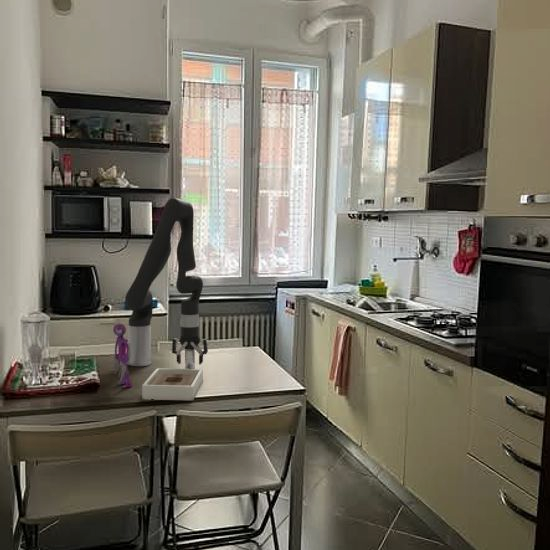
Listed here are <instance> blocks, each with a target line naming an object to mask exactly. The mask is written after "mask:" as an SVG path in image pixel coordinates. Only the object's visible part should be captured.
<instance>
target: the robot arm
mask: <svg viewBox="0 0 550 550" xmlns="http://www.w3.org/2000/svg"><path fill="white" fill-rule="evenodd" d="M194 215H195V214H194V207H193V205H192V203H191V202H189V201H188V200H185V199H181V198H177V197H171V198H169V199H168V200H167V201H166V203H165V204H164V207H163V209H162V212H161V215H160V218H159V222H158V224H157V227H156V229H155V233H154V235H153V237H152V240H151V241H150V245H149V246H148V248H147V250H146V253H145V255H144V258H143V261H142V262H141V265H140V267H139V269H138V272H137V274H136V277H135V278H134V280H133V282H132V283H131V285H130V287H129V289H128V291H127V292H126V294H125V296H124V297H125V299H124V301H125V303H124V304H125V306H126V307H127V308H128V309H129V310H131V311H132V313H131V315H130V317H129V318H128V342H127V343H128V346H129V352H128V357H129V361H128V362H127V366H132V367H145V366H149V365H151V364H152V342H151V341H152V337H151V336H152V334H151V333H152V332H151V329H152V326H151V324H152V322H151V321H152V319H153V307H154V306H153V305H154V303H153V294H152V291H150V288H151V286H152V284H153V283H154V281H155V280H156V278H158V276H159V275H160V274H161V272H162V271H163V270H164V268H165V267H166V264H167V262H168V260H169V258H170V256H171V252H172V241H171V234H172V231H173V228H174V225H175V223H176V222H178V223H179V226H180V237H179V241H178V243H177V246H176V257H177V265H178V268H177V270H178V271H177V278H176V284H175V285H176V289H177V292H178V293H180V294H181V295H182V294H183V295H185V294H191V295H190V296H189V297H188V298H185V299H182V300H181V302H180V321H179V322H180V324H179V325H180V338H176V337H174V338H173V339H172V346H171V353H172V354H175V355H176V363H177V364H178V365H181V364H182V363H181V362H182V354H181V353H182V351H183V350H185V349H186V350H188V349H191V350H193V349H195V352H197V353H198V365H202V363H203V362H204V355H207V354H208V352H209V349H208V339H207V338H204V339H203V338H202V339H201V338H200V316H199V313H200V312H199V305H200V299H201V294H202V292H203V288H204V282H203V279H202V277H201V276H200V275H186V274H187V272H190V271H194V270H195V269H196V258H195V252H194V251H195V247H194V221H195V220H194ZM179 343H180V345H181V347H180V348H179V349H178V350H177V345H178V344H179ZM200 343H201V345H203V350H202V348H201V347H200V345H199V344H200Z"/></svg>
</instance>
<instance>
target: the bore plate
mask: <svg viewBox="0 0 550 550" xmlns="http://www.w3.org/2000/svg"><path fill="white" fill-rule="evenodd" d="M195 378H196V375H186V374H159V375H158V377H157V378H156V379H155V380H154V381H153V383H152V384H151V385H180V386H191V384H192V383H193V381H194V379H195Z"/></svg>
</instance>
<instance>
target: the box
mask: <svg viewBox="0 0 550 550" xmlns="http://www.w3.org/2000/svg"><path fill="white" fill-rule="evenodd" d="M159 374H186V375H196V378H195V379H194V381H193V383H192V384H191V386H180V385H151V384H152V383H153V381H154V380H155V379H156V378H157V377H158V375H159ZM203 382H204V369H201V368H200V369H199V368H197V369H196V368H195V369H185V368H160V367H159V368H156V369H155V370H154V371H153V372H152V373H151V374H150V376H149V377H148V378H147V379H146V380H145V381H144V383H143V384H142V386H141V388H142V389H141V390H142V391H141V392H142V393H141V394H142V395H141V398H142V400H151V399H154V400H153V401H155V400H157V401H158V400H159V401H161V400H162V401H194V399H195V397H196V395H197V394H198V391H199V390H200V388H201V386H202V384H203Z"/></svg>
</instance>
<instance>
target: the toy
mask: <svg viewBox="0 0 550 550" xmlns="http://www.w3.org/2000/svg"><path fill="white" fill-rule="evenodd" d="M112 332H113V333H114V335H115V336H117V337H116V341H115V344H114V359H113V360H112V362H113V363H112V364H113V369H114V374H115V375H116V376H115V377H116V378H117V379H118V380H119V382H118V383H117V384H116V386H122V387H121V389H128V388H127V387H129V388H132V387H133V384H132V382H131V379H130V375H129V373H130V371H129V370H128V361H129V357H128V352H129V346H128V343H129V339H127V338H124V335H125V334H126V333H127V328H126V326H125V324H123V323H116V324H113V330H112ZM120 362H121V363H122V365H121V363H120ZM117 376H118V377H117ZM121 384H123V385H121Z"/></svg>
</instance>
